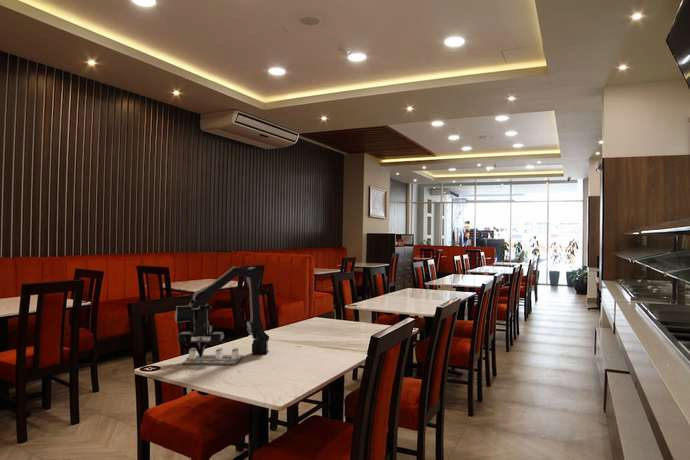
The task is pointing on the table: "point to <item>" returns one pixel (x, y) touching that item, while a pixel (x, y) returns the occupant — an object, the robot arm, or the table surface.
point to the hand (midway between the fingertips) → (201, 356)
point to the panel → (212, 360)
